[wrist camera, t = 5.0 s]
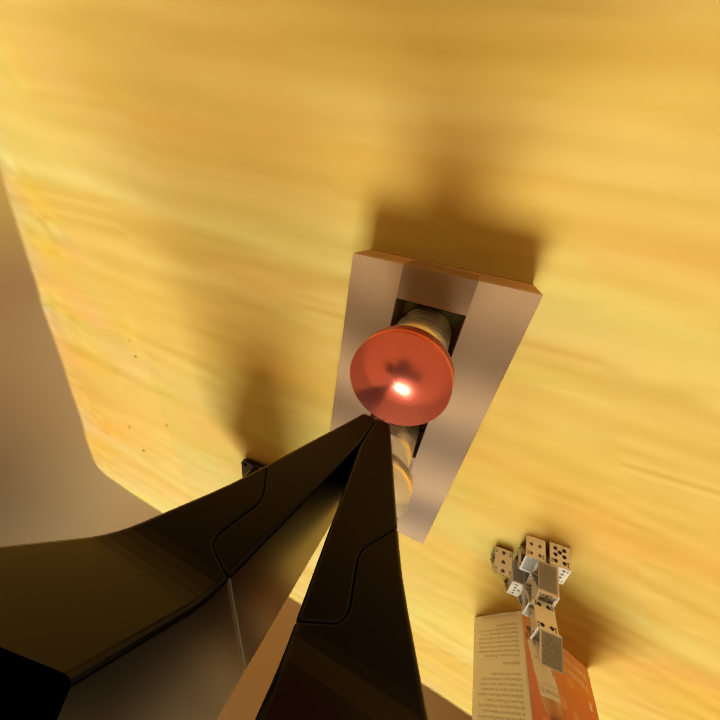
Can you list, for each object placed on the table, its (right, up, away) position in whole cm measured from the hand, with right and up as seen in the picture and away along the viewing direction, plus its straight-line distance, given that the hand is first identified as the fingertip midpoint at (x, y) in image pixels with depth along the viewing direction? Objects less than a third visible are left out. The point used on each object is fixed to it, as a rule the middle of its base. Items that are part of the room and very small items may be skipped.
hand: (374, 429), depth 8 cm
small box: (+16, -24, +19) cm, 34 cm away
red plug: (+3, +4, +7) cm, 8 cm away
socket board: (+3, -1, +13) cm, 13 cm away
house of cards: (+12, -13, +15) cm, 23 cm away
